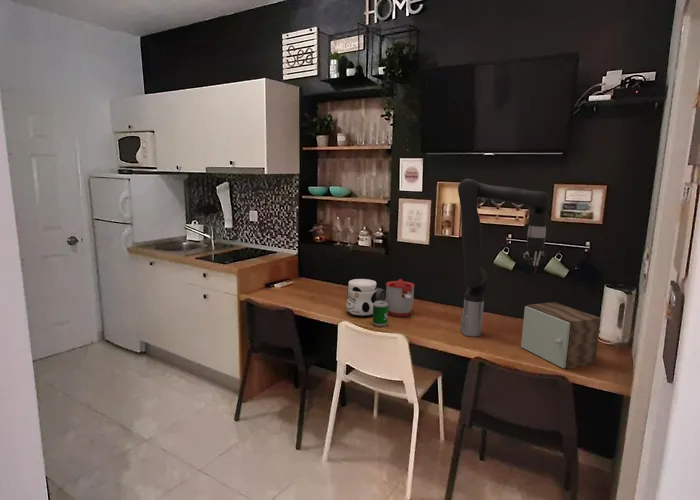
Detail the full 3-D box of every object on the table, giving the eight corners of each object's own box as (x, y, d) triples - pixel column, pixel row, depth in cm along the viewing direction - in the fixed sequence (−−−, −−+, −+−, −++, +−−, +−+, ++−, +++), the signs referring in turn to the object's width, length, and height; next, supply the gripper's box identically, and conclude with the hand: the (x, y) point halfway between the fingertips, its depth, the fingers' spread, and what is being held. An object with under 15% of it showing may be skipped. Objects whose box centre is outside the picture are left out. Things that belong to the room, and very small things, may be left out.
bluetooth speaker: (346, 300, 269) (346, 284, 267) (355, 296, 276) (355, 281, 275) (378, 307, 256) (379, 290, 254) (386, 303, 264) (387, 287, 262)
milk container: (340, 314, 240) (340, 282, 237) (356, 307, 255) (357, 276, 252) (367, 320, 231) (368, 287, 228) (382, 312, 246) (384, 281, 243)
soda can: (381, 328, 221) (381, 305, 219) (369, 324, 226) (370, 301, 224) (390, 324, 226) (391, 302, 224) (378, 321, 231) (379, 299, 229)
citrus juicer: (395, 320, 233) (396, 284, 229) (379, 311, 248) (381, 276, 245) (420, 317, 239) (422, 281, 235) (403, 308, 254) (405, 274, 251)
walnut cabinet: (566, 369, 178) (571, 321, 175) (523, 347, 200) (527, 305, 197) (594, 363, 184) (600, 318, 181) (550, 343, 206) (554, 302, 203)
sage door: (560, 368, 177) (565, 323, 174) (518, 347, 199) (522, 306, 196) (565, 367, 178) (570, 323, 175) (523, 346, 200) (526, 306, 197)
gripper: (541, 234, 204) (537, 270, 207) (518, 235, 200) (515, 272, 203) (554, 236, 198) (550, 274, 200) (531, 237, 193) (527, 276, 196)
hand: (532, 273), depth 201 cm, fingers closed
